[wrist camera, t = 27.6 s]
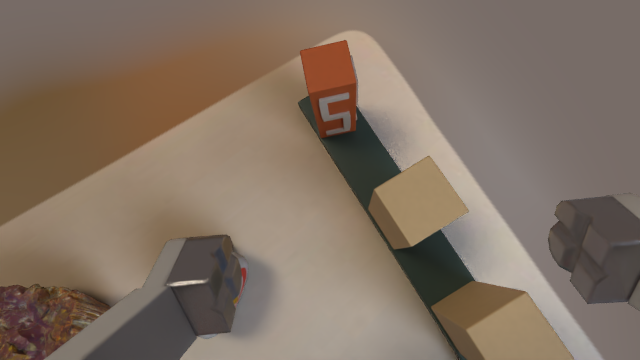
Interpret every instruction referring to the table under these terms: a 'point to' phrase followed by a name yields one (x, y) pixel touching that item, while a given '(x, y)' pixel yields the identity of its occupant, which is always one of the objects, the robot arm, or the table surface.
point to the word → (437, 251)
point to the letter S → (331, 87)
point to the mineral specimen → (42, 319)
